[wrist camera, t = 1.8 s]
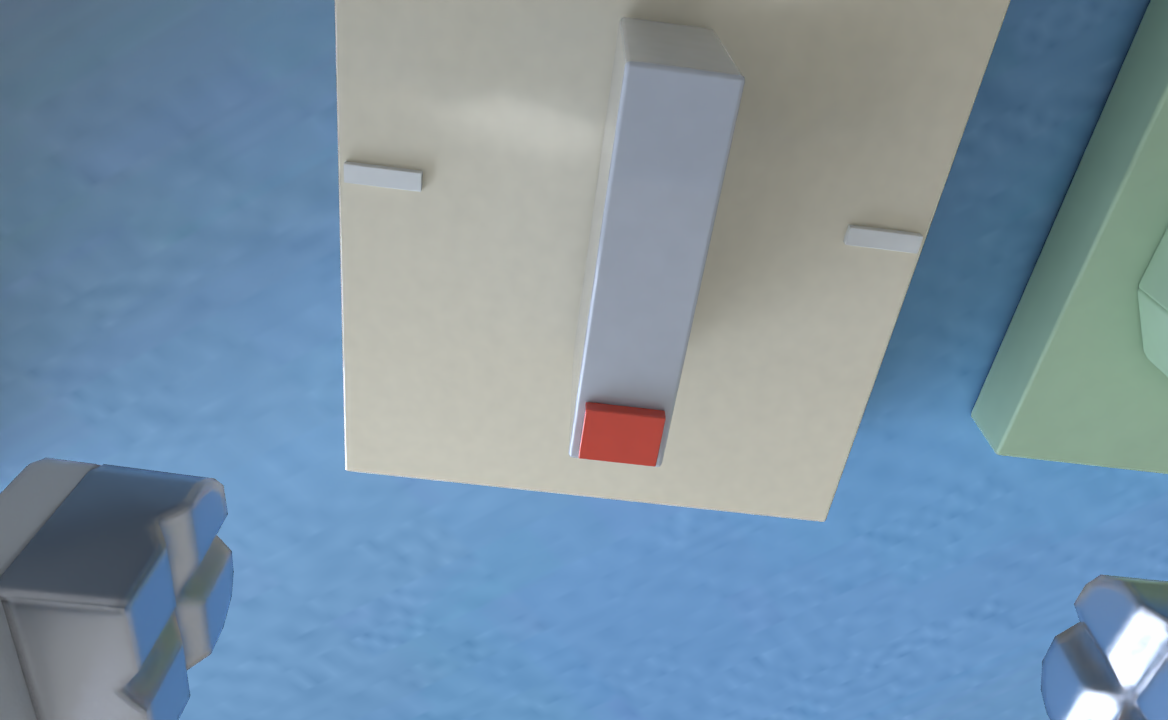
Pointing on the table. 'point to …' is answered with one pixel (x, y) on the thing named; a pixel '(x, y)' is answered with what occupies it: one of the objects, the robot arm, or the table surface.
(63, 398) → the table surface
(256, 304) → the table surface
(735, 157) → the block
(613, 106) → the tap handle
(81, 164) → the table surface
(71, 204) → the table surface
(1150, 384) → the button block
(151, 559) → the robot arm
